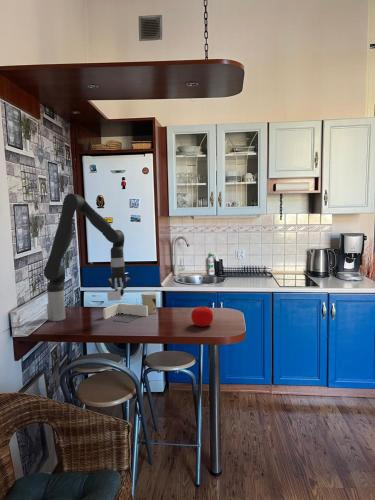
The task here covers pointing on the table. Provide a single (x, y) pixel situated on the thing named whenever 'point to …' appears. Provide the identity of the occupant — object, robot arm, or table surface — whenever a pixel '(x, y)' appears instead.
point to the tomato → (202, 316)
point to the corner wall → (125, 310)
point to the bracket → (114, 295)
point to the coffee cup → (149, 301)
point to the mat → (126, 318)
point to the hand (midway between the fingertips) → (119, 295)
